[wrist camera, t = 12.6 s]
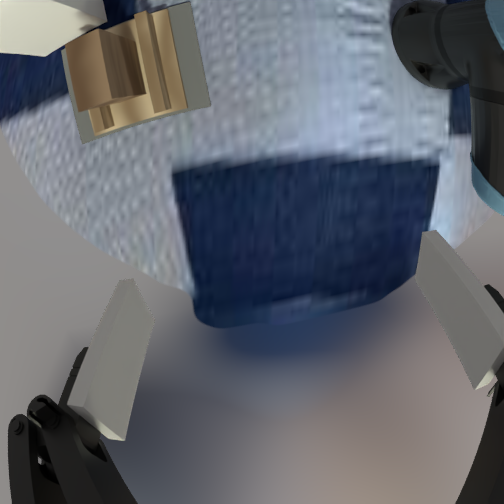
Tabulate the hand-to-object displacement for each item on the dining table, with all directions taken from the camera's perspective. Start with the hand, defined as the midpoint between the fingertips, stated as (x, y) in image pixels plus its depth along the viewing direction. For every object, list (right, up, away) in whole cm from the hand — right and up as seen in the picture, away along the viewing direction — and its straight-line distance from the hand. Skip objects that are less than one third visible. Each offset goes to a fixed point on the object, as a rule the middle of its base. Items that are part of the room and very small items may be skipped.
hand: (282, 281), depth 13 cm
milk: (-28, +37, +13) cm, 48 cm away
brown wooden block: (-18, +25, +19) cm, 36 cm away
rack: (-18, +26, +20) cm, 37 cm away
